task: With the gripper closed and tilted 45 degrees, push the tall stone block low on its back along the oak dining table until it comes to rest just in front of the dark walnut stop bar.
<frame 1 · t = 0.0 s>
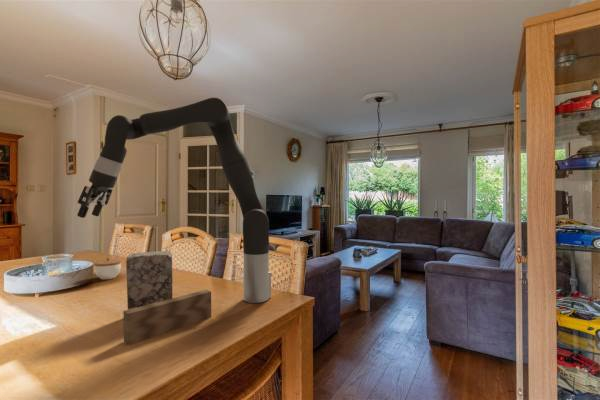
hand: (88, 216, 102), 31 cm above the table, tool tilted 20°, fingers open, 8 cm apart
lidded jar: (108, 278, 141), on the table
stop bar: (171, 328, 86), on the table
stone block: (151, 315, 96), on the table
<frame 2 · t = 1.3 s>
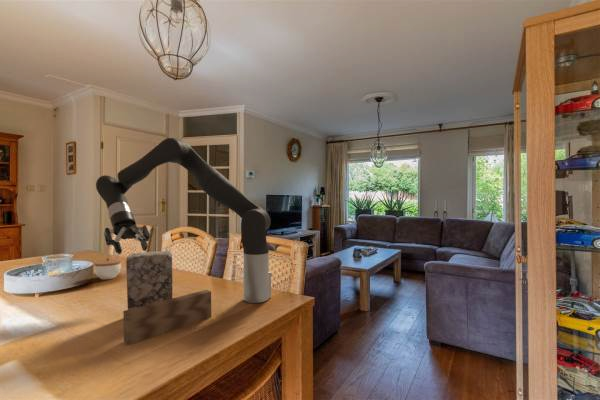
hand: (133, 251, 105), 19 cm above the table, tool tilted 45°, fingers open, 7 cm apart
nothing on the table moved.
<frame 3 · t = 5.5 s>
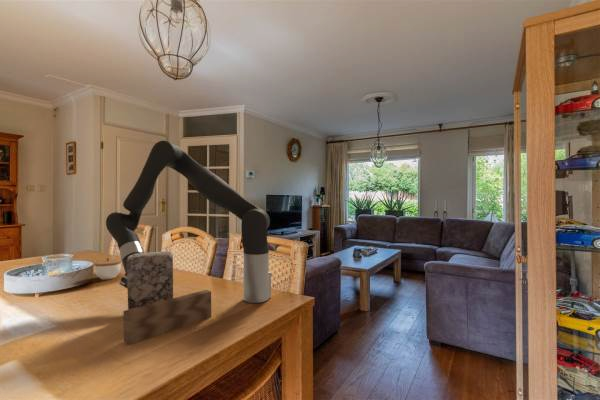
hand: (147, 299, 98), 4 cm above the table, tool tilted 45°, fingers closed
nothing on the table moved.
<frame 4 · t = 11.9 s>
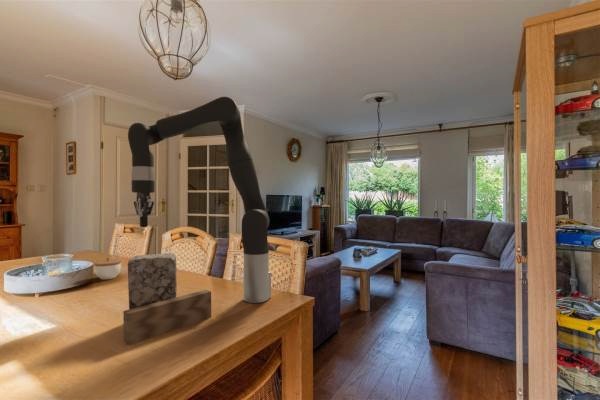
hand: (143, 226, 109), 27 cm above the table, tool pointing down, fingers closed
stone block: (153, 320, 92), on the table
everything else where it was.
at the end: stone block inside the target area (1.1 cm from its centre), on the table; stone block tilted 0° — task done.
